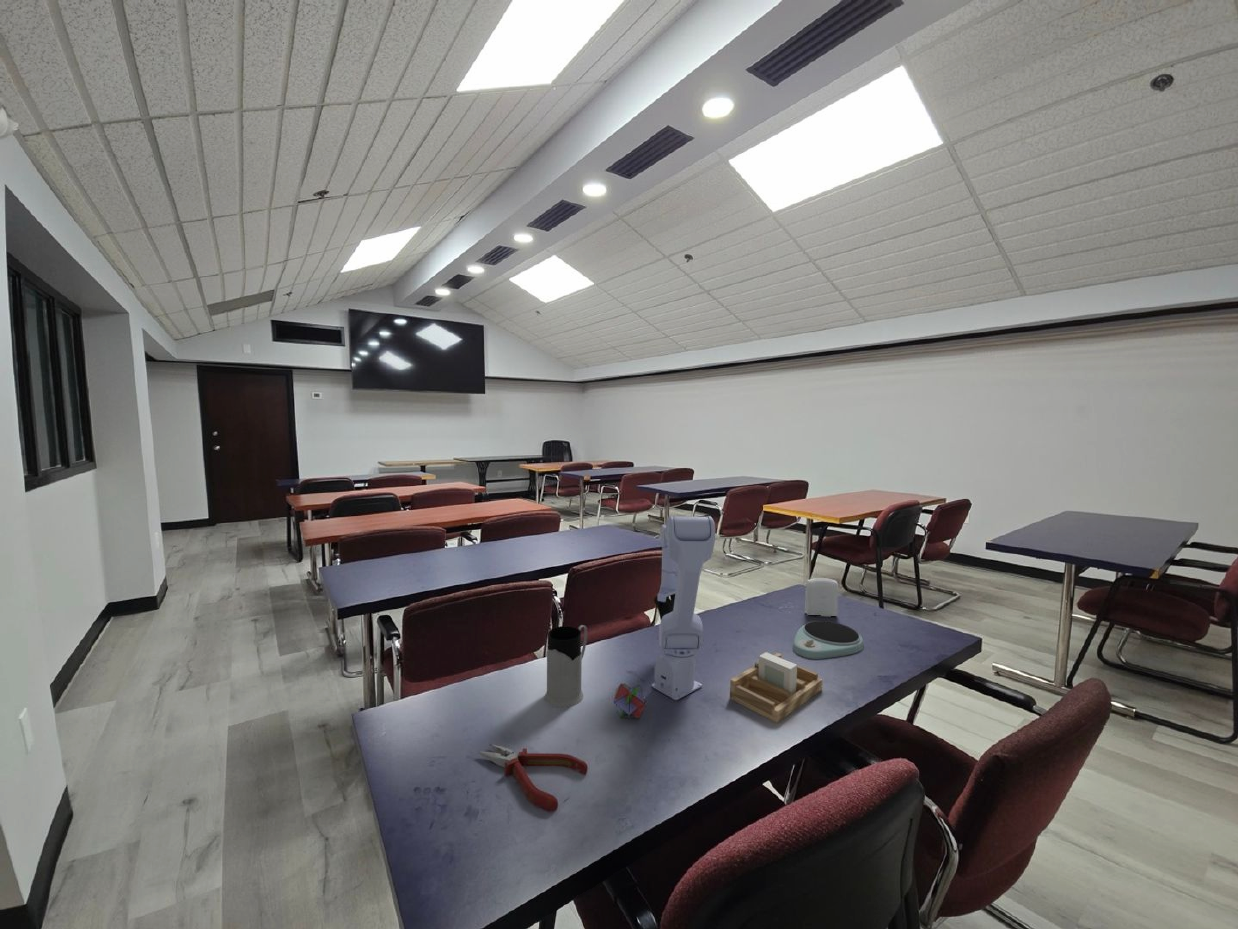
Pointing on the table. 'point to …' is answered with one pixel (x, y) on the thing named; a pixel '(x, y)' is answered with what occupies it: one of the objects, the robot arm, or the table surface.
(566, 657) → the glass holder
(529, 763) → the pliers
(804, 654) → the electric hot plate
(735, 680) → the wooden compartment tray
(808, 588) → the photo printer
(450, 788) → the table surface
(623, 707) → the geometric puzzle
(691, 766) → the table surface
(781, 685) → the white rectangular box
